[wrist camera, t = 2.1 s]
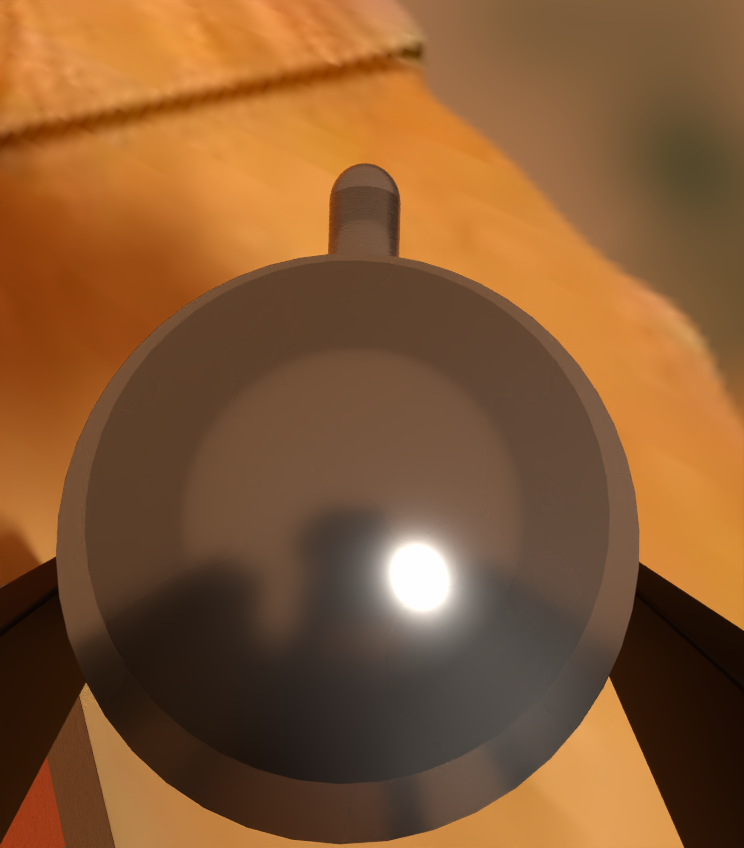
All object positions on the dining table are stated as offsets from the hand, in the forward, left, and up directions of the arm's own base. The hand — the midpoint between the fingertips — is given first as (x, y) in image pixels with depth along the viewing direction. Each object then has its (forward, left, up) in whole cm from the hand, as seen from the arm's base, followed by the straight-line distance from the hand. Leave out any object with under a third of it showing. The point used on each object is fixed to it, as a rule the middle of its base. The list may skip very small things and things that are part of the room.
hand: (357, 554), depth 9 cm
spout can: (+2, -1, -8) cm, 8 cm away
